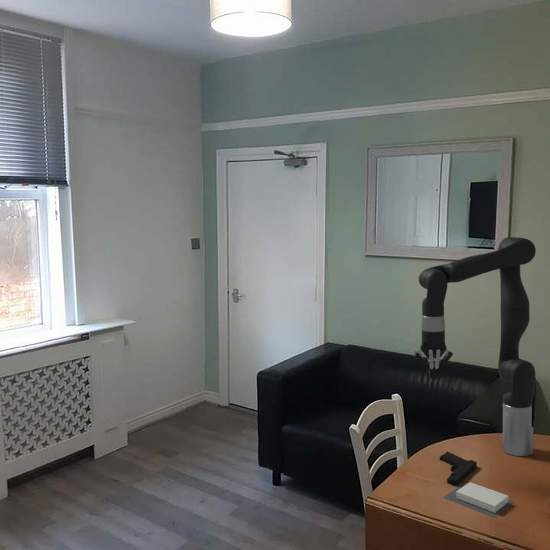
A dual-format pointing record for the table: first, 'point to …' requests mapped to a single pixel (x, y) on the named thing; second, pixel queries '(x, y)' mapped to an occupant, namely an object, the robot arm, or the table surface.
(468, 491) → the tile
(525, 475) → the table surface
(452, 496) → the mat
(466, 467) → the handgun
